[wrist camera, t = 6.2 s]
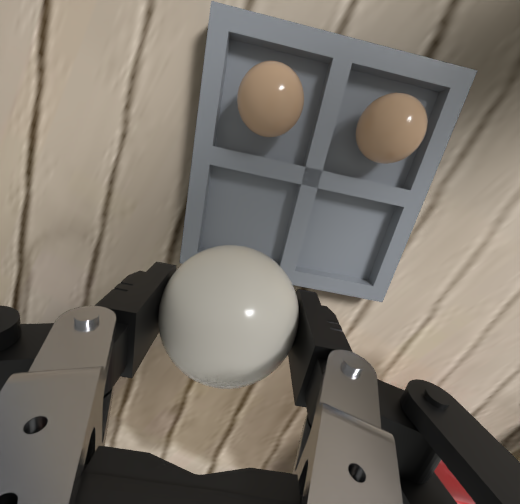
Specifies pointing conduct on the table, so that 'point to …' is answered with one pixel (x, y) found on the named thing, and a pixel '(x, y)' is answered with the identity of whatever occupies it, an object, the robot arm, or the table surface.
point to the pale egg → (228, 316)
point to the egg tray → (313, 154)
